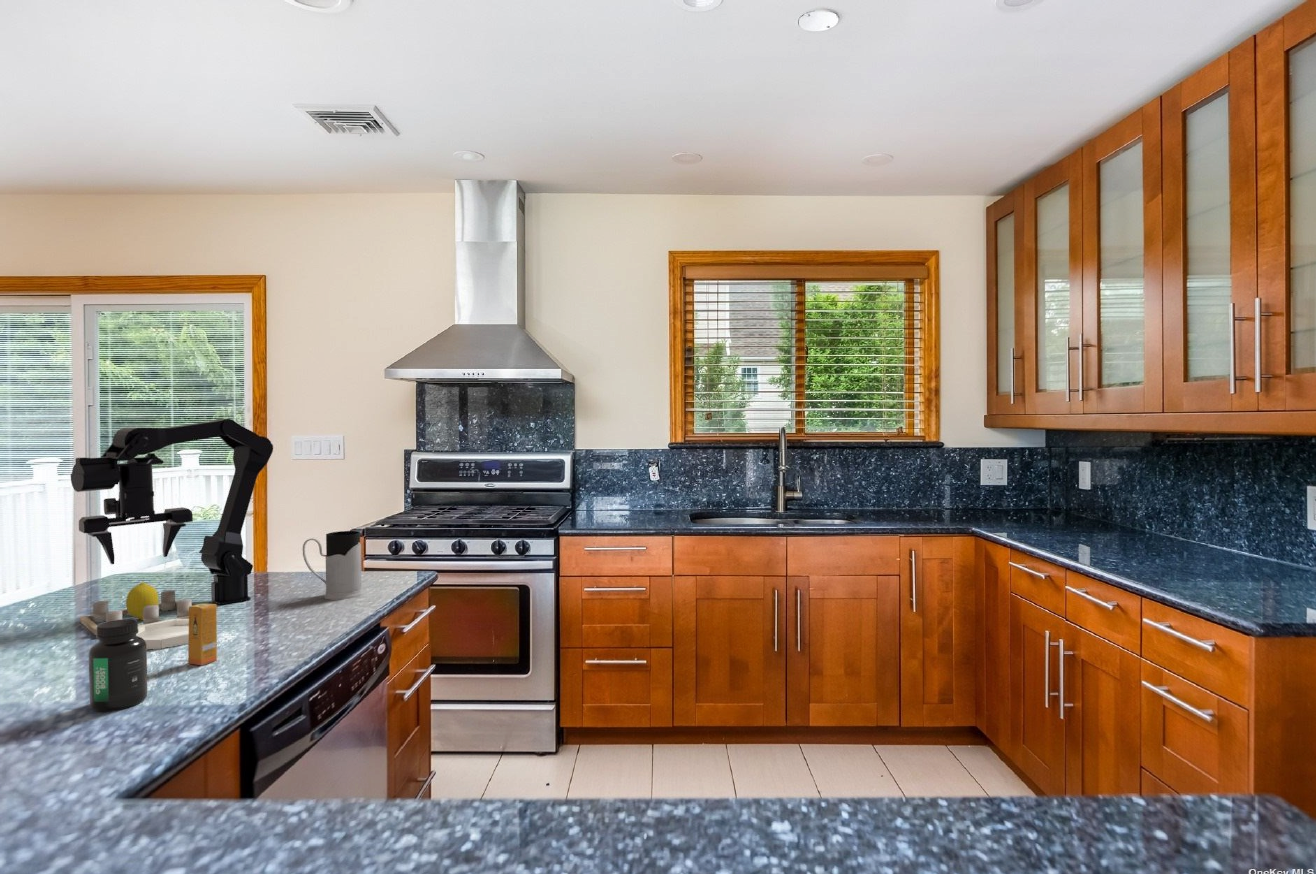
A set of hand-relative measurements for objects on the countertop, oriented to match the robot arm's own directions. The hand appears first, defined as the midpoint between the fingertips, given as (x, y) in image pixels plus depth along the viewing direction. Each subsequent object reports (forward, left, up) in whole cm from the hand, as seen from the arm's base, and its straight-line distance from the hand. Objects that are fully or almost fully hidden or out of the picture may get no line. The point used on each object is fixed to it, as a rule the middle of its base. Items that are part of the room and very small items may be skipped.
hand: (139, 560), depth 148 cm
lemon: (0, 0, -13) cm, 13 cm away
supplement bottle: (+14, +51, -13) cm, 55 cm away
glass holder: (-36, +9, -13) cm, 40 cm away
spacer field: (0, 0, -13) cm, 13 cm away
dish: (0, +19, -13) cm, 23 cm away
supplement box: (0, +40, -13) cm, 42 cm away
